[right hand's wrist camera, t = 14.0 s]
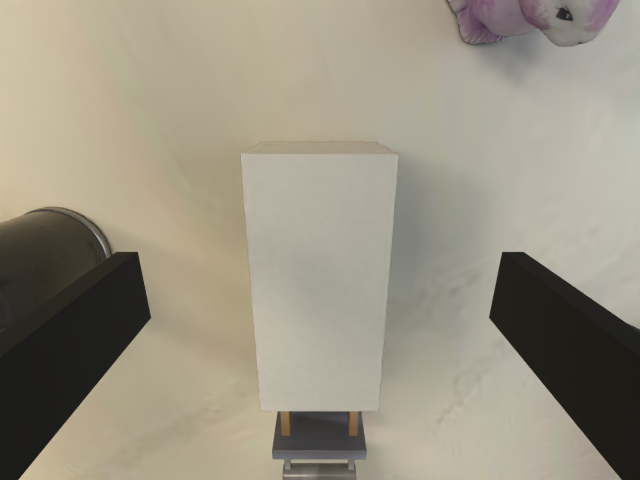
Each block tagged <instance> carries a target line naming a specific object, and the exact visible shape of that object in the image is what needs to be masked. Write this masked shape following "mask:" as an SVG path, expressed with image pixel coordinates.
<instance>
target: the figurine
mask: <svg viewBox="0 0 640 480" xmlns="http://www.w3.org/2000/svg"><path fill="white" fill-rule="evenodd" d="M447 1H448V2H449V4H450V6H451V8H452V10H453V12H454V13H455V14H456V15H457V20H458V23H459V29H460V33H461V36H462V38H463V40H464V41H465V42H467V43H468V42H469V43H470V44H477V43H479V44H480V43H491V42H492V43H493V42H498V41H499V40H502V39H503V38H505V37H507V36H517V35H522V34H525V33H528V32H530V31H532V30H534V29H536V28H539V29H540V30H541V31H542V32H543V33H544V34H545V35H546V36H547V38H548V39H549V40H550V41H551V42H552V43H554V44H555V45H557V46H560V47H569V46H575V45H578V44H583V43H587V42H589V41H592V40H593V39H594V38H596V37H597V36H598V35H599V34H600V32H601V31H602V30H603V28H604V27H605V25H606V23H607V21H608V20H609V18H610V17H611V15H612V13H613V12H614V11H615V9H616V7H617V5H618V4H619V2H620V0H447Z"/></svg>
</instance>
